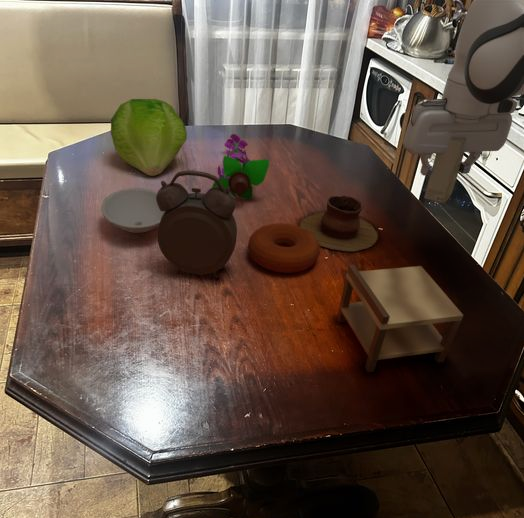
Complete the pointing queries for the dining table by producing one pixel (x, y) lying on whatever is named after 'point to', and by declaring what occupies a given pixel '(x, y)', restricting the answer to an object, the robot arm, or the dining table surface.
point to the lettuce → (147, 134)
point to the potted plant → (232, 168)
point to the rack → (398, 313)
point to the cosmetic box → (445, 171)
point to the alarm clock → (196, 225)
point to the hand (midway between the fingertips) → (444, 173)
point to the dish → (133, 209)
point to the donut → (283, 248)
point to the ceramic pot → (341, 225)
